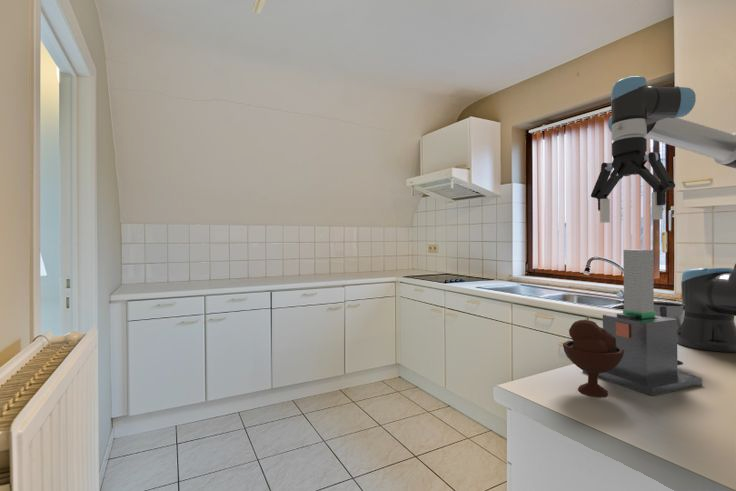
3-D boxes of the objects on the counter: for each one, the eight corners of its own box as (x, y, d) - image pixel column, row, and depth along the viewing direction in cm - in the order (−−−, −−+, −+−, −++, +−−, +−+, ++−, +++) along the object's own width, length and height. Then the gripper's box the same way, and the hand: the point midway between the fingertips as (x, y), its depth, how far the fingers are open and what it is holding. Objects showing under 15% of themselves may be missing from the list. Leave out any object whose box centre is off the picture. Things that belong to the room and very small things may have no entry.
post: (635, 338, 90) (635, 249, 89) (655, 343, 86) (654, 249, 85) (623, 340, 88) (622, 249, 88) (642, 345, 84) (641, 250, 84)
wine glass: (692, 366, 94) (692, 306, 94) (656, 364, 96) (656, 305, 96) (673, 356, 102) (673, 301, 102) (640, 355, 104) (640, 301, 104)
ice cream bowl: (604, 407, 72) (604, 328, 72) (552, 387, 82) (551, 318, 82) (636, 396, 77) (635, 322, 77) (583, 379, 86) (582, 313, 86)
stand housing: (628, 363, 97) (628, 305, 97) (701, 385, 82) (701, 317, 82) (582, 371, 92) (582, 310, 92) (652, 396, 77) (651, 323, 77)
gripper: (576, 149, 109) (577, 223, 109) (672, 123, 85) (672, 217, 86) (595, 151, 111) (596, 223, 112) (693, 126, 88) (693, 217, 88)
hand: (629, 221), depth 99 cm, fingers open, 13 cm apart
